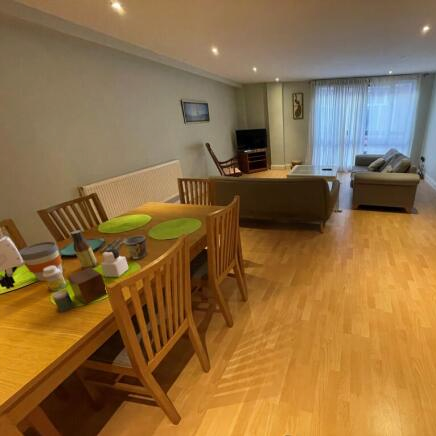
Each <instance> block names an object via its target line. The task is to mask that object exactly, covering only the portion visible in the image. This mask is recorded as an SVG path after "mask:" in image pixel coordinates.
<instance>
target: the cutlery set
mask: <svg viewBox="0 0 436 436" xmlns="http://www.w3.org/2000/svg"><path fill="white" fill-rule="evenodd" d="M126 239H127V237H124V238H123V239H122V240H121V238H120V237H118V238H117V240H115V238H113V239H112V240H111V241H110V242H107V244H106V245H105V246H104V247H103V248H102V249H101V252H104V251H105V249H106V251H107V250H110V249H117V250H118V249H119V248H120V247H121V245H122V244H124V241H125V240H126ZM85 240H87V241H88V242H89V245H90V246H91V248H92V251H93V252H94V251H95V250H97V249H99V248H100V247H102V246H103V245H104V243H105V242H106V240H105V239H103V238H85ZM120 240H121V241H120ZM114 241H115V242H114ZM119 241H120V242H119ZM113 242H114V243H113ZM118 242H119V243H118ZM112 243H113V244H112ZM117 243H118V244H117ZM111 244H112V245H111ZM58 252H59V253H60V256H61V258H62V257H63V256H66V257H72V256H77V255H76V253H75V250H74V242H71V243H69V244H67V245H66V246H63V247H62V248H61V249H60V250H58Z"/></svg>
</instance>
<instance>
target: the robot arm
mask: <svg viewBox="0 0 436 436" xmlns="http://www.w3.org/2000/svg"><path fill="white" fill-rule="evenodd" d="M19 252H20V251H19V250H18V249H17V246H16V245H15V243H14V242H13V240H12V239H11V238H10V237H9V236H7V235H4V233H3V231H2V229H1V228H0V273H1V272H4V276H3V274H0V286H1V288H3V289H4V288H5V289H6V290H10V289H11V288H15V285H14V284H16V280H15V279H14V277H13V276H14V273H15V272H16V271H17V269H19V268H21V267H23V266H26V265H25V262H24V261H23V259H22V257H21V255H20V253H19Z"/></svg>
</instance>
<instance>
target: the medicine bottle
mask: <svg viewBox="0 0 436 436" xmlns="http://www.w3.org/2000/svg"><path fill="white" fill-rule="evenodd" d="M102 257H103V260H104V261H103V262H101V263H100V267H101V269H102V273H103V275H104V277H111V278H112V277H113V278H120V277H121V276H122V275H123V274H124V273H125V272H127V270H129V269H130V268H129V265H128V261H127V258H126V256H121V254H120V252H119V250H118V249H114V248H113V249H110V250H106V251H105V250H104V251H103V253H102Z"/></svg>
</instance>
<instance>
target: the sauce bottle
mask: <svg viewBox="0 0 436 436" xmlns="http://www.w3.org/2000/svg"><path fill="white" fill-rule="evenodd" d="M70 236H71V238H72V241H73V243H74V250H75V253H76V255H75V256H76V257H77V259H78V262H79V264H80V266H81V267H82V269H83V270H84V269H87V268H89V267H90V268H92V269H93V268H95V267H96V266H97V265H98V261H97V257H96V255H95V254H94V251H92V248H91V246H90V245H89V242H88V241H87V240H86V238H84V235H83V231H82V230H81V229H78V230H77V229H76V230H73V231H71V232H70Z"/></svg>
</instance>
